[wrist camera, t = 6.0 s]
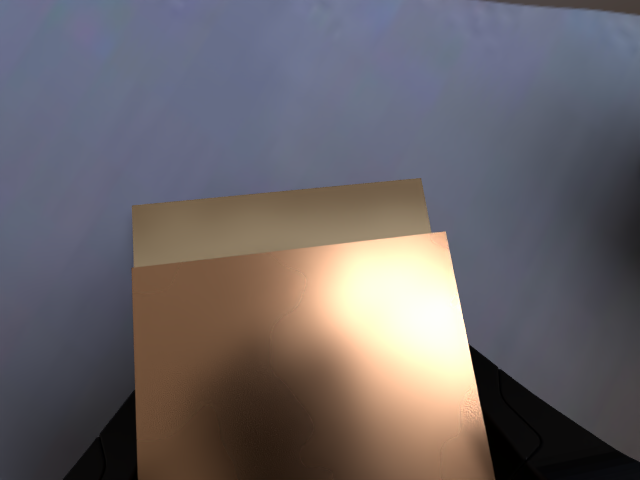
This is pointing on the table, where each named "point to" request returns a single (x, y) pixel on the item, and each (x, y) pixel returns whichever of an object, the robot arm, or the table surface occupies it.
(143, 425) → the copper and grey block
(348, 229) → the oak stand
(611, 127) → the table surface
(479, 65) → the table surface
